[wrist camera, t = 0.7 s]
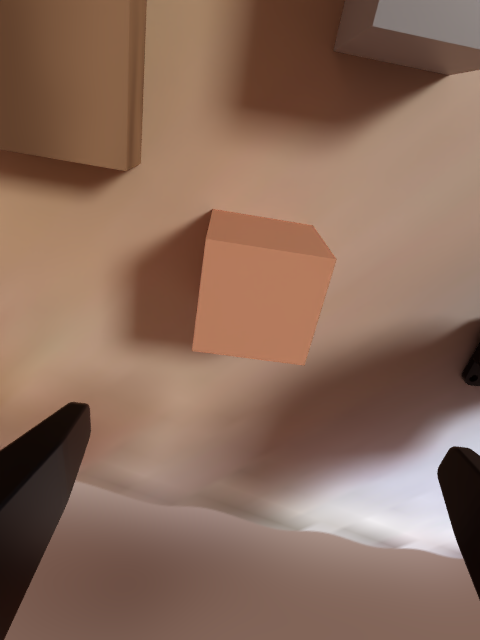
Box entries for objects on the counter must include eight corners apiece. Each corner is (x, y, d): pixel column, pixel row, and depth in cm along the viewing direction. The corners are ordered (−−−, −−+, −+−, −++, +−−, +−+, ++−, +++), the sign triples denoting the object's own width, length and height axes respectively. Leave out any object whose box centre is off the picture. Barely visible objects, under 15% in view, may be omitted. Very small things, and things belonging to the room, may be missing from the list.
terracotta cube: (312, 225, 19) (336, 259, 14) (289, 312, 21) (304, 365, 17) (212, 208, 18) (205, 238, 14) (201, 300, 21) (191, 350, 16)
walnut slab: (151, -72, 14) (131, -117, 11) (142, 162, 17) (126, 171, 15) (-83, -126, 13) (-165, -188, 10) (-39, 130, 17) (-91, 134, 14)
